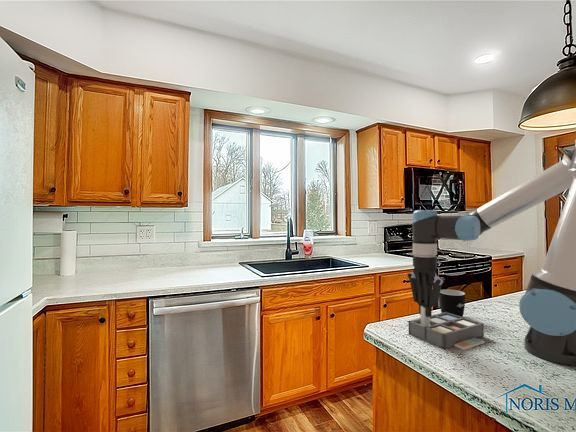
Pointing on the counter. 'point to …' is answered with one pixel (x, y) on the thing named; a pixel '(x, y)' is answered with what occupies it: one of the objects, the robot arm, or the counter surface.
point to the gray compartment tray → (457, 338)
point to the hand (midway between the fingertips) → (425, 325)
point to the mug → (452, 302)
